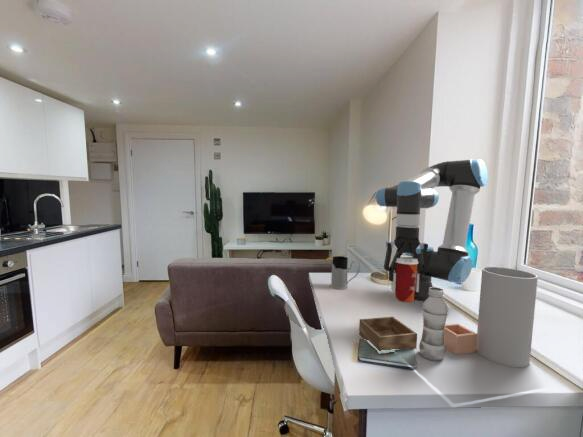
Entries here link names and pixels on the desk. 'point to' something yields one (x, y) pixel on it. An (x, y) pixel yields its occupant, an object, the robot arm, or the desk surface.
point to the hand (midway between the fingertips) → (404, 290)
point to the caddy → (387, 333)
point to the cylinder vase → (506, 315)
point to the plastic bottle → (433, 325)
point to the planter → (459, 339)
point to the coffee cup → (405, 278)
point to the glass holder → (340, 273)
